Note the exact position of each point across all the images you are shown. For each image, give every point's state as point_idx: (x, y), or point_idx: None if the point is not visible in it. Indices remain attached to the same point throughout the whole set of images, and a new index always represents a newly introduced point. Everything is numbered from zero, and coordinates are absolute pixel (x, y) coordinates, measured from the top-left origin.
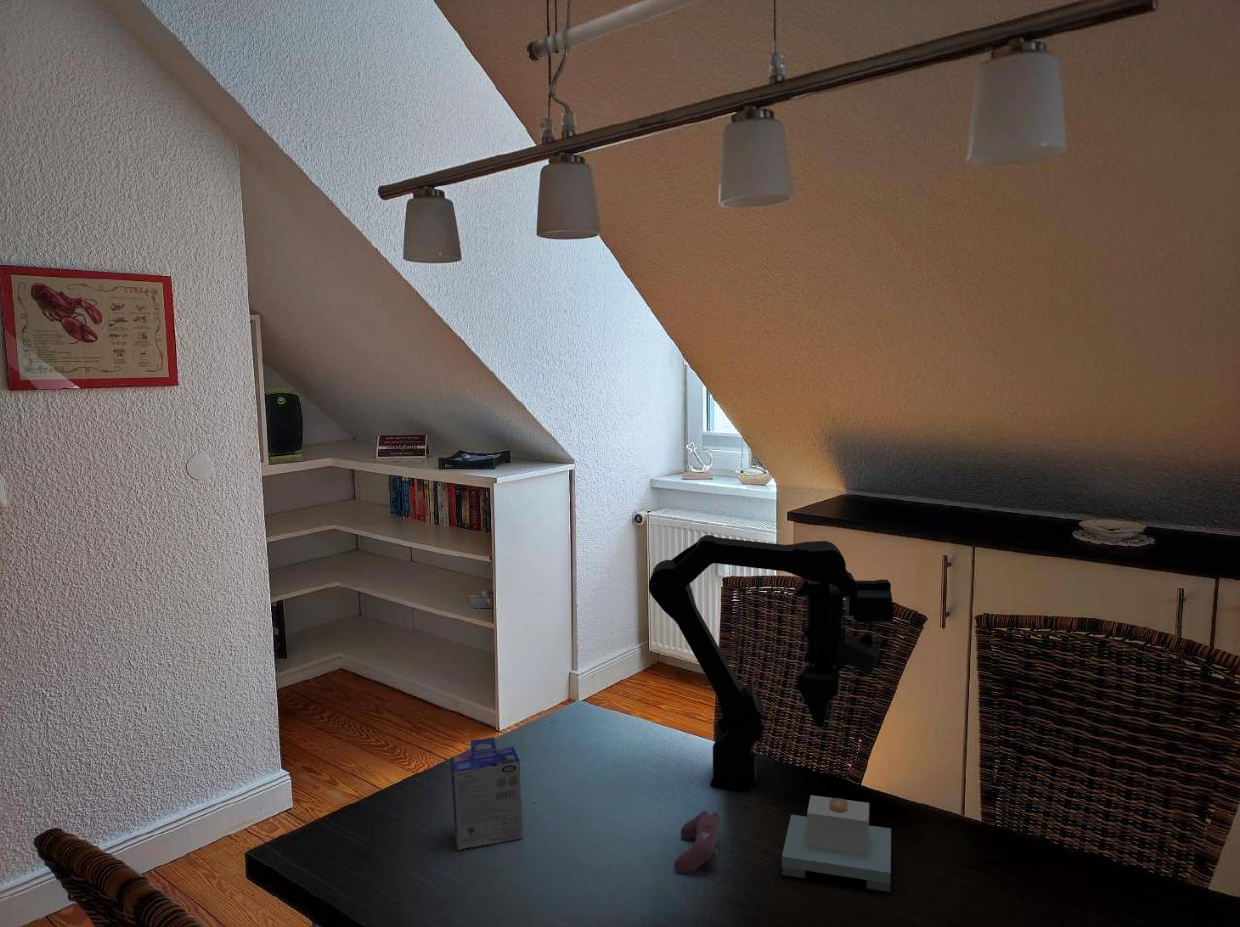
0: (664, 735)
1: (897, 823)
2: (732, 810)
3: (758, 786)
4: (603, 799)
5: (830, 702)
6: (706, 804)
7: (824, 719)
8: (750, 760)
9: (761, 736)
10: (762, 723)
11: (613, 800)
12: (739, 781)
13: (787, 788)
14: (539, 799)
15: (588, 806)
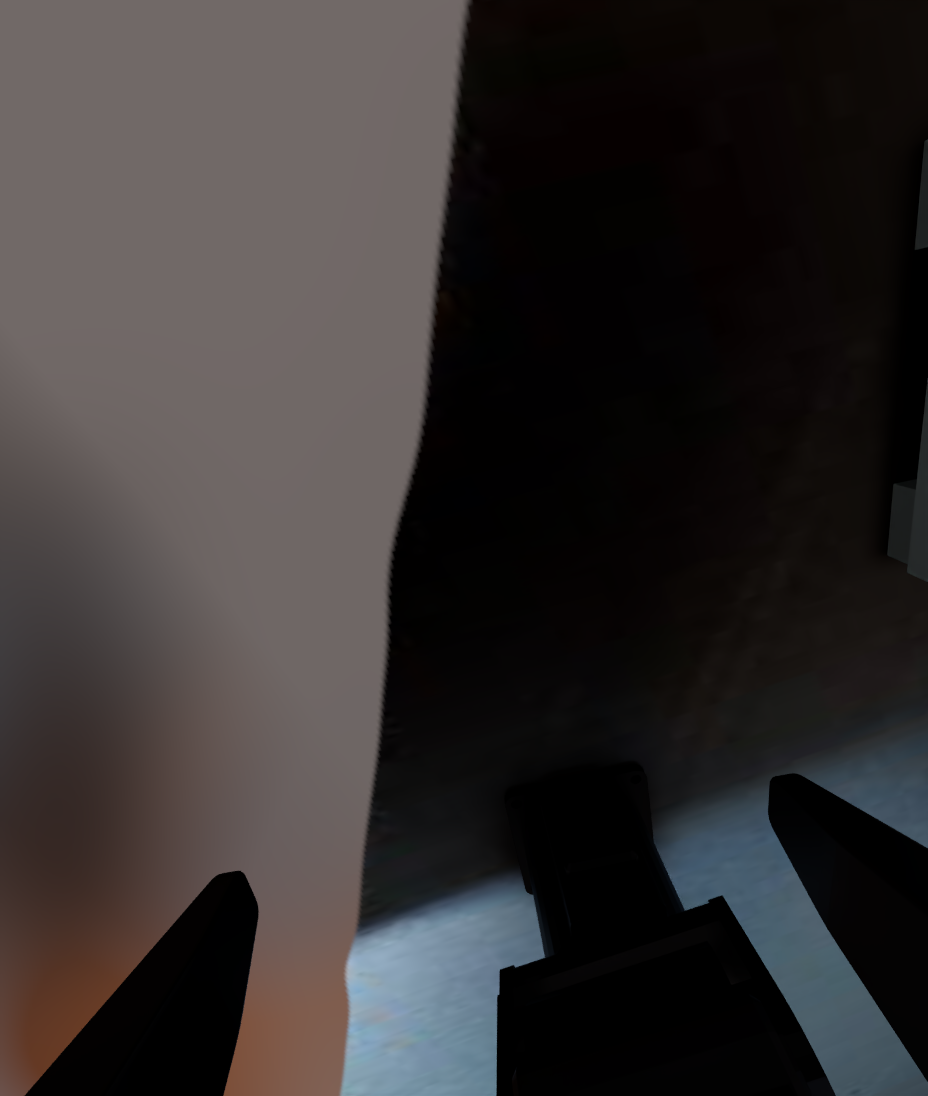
0: (384, 1060)
1: (676, 161)
2: (769, 760)
3: (583, 751)
4: (803, 1011)
5: (228, 883)
6: (755, 828)
7: (893, 830)
8: (640, 861)
9: (718, 960)
10: (770, 1058)
11: (802, 995)
12: (636, 814)
13: (556, 669)
14: (839, 1092)
15: (845, 1018)
